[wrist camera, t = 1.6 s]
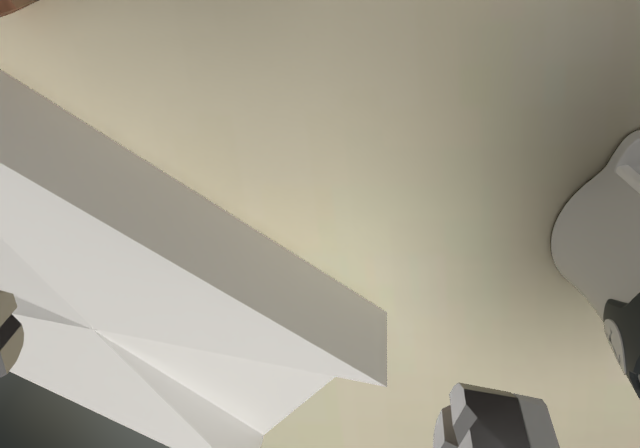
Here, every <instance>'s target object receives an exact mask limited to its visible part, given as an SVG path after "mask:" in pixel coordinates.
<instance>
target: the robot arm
mask: <svg viewBox="0 0 640 448" xmlns="http://www.w3.org/2000/svg"><path fill="white" fill-rule="evenodd" d="M551 252H552V257H553V260H554V263H555V265H556V267H557V269H558V270H559V272H560V273H561V274H562V276H563V277H564V278H565V279H566V280H567V281H568V282H570V283H571V284H572V285H573V286H574V287H575V288H576V289H577V290H579V291H580V293H581V294H582V295H583V296H584V297H585V298H586V299H587V301H588V302H589V303H590V304H591V306H592V307H593V308H594V310H595V311H596V313H597V314H598V315H599V317H600V318H601V320H602V321H603V323H604V331H605V334H606V337H607V340H608V342H609V344H610V346H611V349H612V351H613V353H614V355H615V357H616V359H617V361H618V363H619V365H620V367H621V369H622V371H623V373H624V375H627V377H628V379H629V381H630V383H631V384H632V386H633V388H634V390H635V392H636V393H637V395H638V397H639V398H640V130H638V131H635V132H633V133H631V134H630V135H628V136H627V137H626V138H625V139H624V140H623V141H622V142H621V144H620V145H619V147H618V148H617V149H616V151H615V152H614V154H613V156H612V157H611V159H610V161H609V162H608V164H607V166H606V167H605V168H604V169H603V170H602V171H601V172H600V173H599V174H597V175H596V176H595V177H594V178H593V179H591V180H590V181H589V182H588V183H586V184H585V185H584V186H583V187H582V188H581V189H579V190H578V191H577V192H576V193H575V194H574V195H573V197H572V198H571V199H570V200H569V201H568V203H567V204H566V205H565V206H564V208H563V210H562V211H561V213H560V215H559V216H558V218H557V221H556V223H555V226H554V229H553V232H552V238H551ZM16 308H17V304H16V301H15V298H14V295H13V294H12V293H8V292H5V291H0V377H3V376H4V375H6V374H7V373H8V372H9V371H10V369H11V368H12V367H13V365H14V364H15V363H16V361H17V359H18V357H19V354H20V352H21V349H22V347H23V342H24V331H23V327H22V324H21V323H20V322H19V321H18V320H17V319H16V318H15V317H14V316H13V315H12V313H13V312H14V311H15V309H16ZM449 396H450V404H451V405H449V406H447V407H445V408H443V409H442V410H441V412H440V414H439V416H438V418H437V421H436V426H435V430H434V439H433V448H560V447H559V444H558V440H557V437H556V434H555V431H554V428H553V424H552V421H551V418H550V415H549V412H548V409H547V405H546V404H545V403H544V401H543V400H542V399H539V398H534V397H529V396H524V395H519V394H512V393H511V392H506V391H501V390H496V389H490V388H485V387H480V386H474V385H469V384H464V383H457V384H456V385H455V386H454V387H453V389H452V391H451V392H450V394H449Z"/></svg>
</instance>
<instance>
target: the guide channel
mask: <svg viewBox="0 0 640 448" xmlns="http://www.w3.org/2000/svg"><path fill="white" fill-rule="evenodd" d="M36 1H38V0H0V17H2V16H5V15H8V14H11V13H13V12H16V11H18V10H20V9H22V8H24V7H26V6H28V5H30V4H32V3H34V2H36Z"/></svg>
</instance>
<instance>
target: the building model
mask: <svg viewBox="0 0 640 448" xmlns="http://www.w3.org/2000/svg"><path fill="white" fill-rule="evenodd" d="M0 291H5V292H8V293H12V294H13V295H14V298H15V301H16V304H17V308H16V309H15V311H14V312H13V313H12V315H13V316H14V317H15V318H16V319H17V320H18V321H19V322H20V323H21V324H22V327H23V331H24V342H23V347H22V349H21V352H20V354H19V357H18V359H17V361H16V363H15V364H14V365H13V367H12V368H11V369H10V372H12V373H14V374H16V375H18V376H21V377H23V378H25V379H27V380H29V381H31V382H33V383H35V384H37V385H39V386H42V387H44V388H46V389H48V390H50V391H52V392H54V393H56V394H59V395H61V396H63V397H65V398H67V399H69V400H71V401H74V402H75V403H78V404H80V405H82V406H84V407H86V408H88V409H90V410H92V411H95V412H97V413H99V414H101V415H103V416H105V417H107V418H109V419H111V420H114V421H116V422H118V423H120V424H122V425H124V426H126V427H128V428H131V429H133V430H135V431H137V432H139V433H141V434H143V435H145V436H147V437H150V438H152V439H154V440H156V441H158V442H160V443H162V444H164V445H166V446H169V447H171V448H261V445H262V441H263V436H264V435H265V434H266V433H267V432H268V431H269V430H271V429H272V428H273V427H274V426H276V425H277V424H278V423H279V422H281V421H282V420H283V419H284V418H285V417H287V416H288V415H289V414H290V413H292V412H293V411H294V410H295V409H297V408H298V407H299V406H300V405H301V404H303V403H304V402H305V401H306V400H308V399H309V398H310V397H311V396H313V395H314V394H315V393H316V392H317V391H319V390H320V389H321V388H322V387H324V386H325V385H326V384H327V383H329V382H330V381H331V380H332V379H333V378H335V377H339V378H344V379H349V380H354V381H359V382H365V383H370V384H375V385H380V386H385V387H387V312H386V311H384V310H383V309H381V308H380V307H378V306H376V305H375V304H373V303H372V302H370V301H368V300H367V299H365V298H364V297H362V296H361V295H359V294H357V293H356V292H354V291H353V290H351V289H349V288H348V287H346V286H345V285H343V284H341V283H340V282H338V281H337V280H335V279H333V278H332V277H330V276H329V275H327V274H326V273H324V272H322V271H321V270H319V269H318V268H316V267H314V266H313V265H311V264H310V263H308V262H306V261H305V260H303V259H302V258H300V257H298V256H297V255H295V254H294V253H292V252H290V251H289V250H287V249H286V248H284V247H283V246H281V245H279V244H278V243H276V242H275V241H273V240H271V239H270V238H268V237H267V236H265V235H263V234H262V233H260V232H259V231H257V230H255V229H254V228H252V227H251V226H249V225H248V224H246V223H244V222H243V221H241V220H240V219H238V218H236V217H235V216H233V215H232V214H230V213H228V212H227V211H225V210H224V209H222V208H220V207H219V206H217V205H216V204H214V203H212V202H211V201H209V200H208V199H206V198H205V197H203V196H201V195H200V194H198V193H197V192H195V191H193V190H192V189H190V188H189V187H187V186H185V185H184V184H182V183H181V182H179V181H177V180H176V179H174V178H173V177H171V176H170V175H168V174H166V173H165V172H163V171H162V170H160V169H158V168H157V167H155V166H154V165H152V164H150V163H149V162H147V161H146V160H144V159H142V158H141V157H139V156H138V155H136V154H135V153H133V152H131V151H130V150H128V149H127V148H125V147H123V146H122V145H120V144H119V143H117V142H115V141H114V140H112V139H111V138H109V137H107V136H106V135H104V134H103V133H101V132H99V131H98V130H96V129H95V128H93V127H92V126H90V125H88V124H87V123H85V122H84V121H82V120H80V119H79V118H77V117H76V116H74V115H72V114H71V113H69V112H68V111H66V110H64V109H63V108H61V107H60V106H58V105H57V104H55V103H53V102H52V101H50V100H49V99H47V98H45V97H44V96H42V95H41V94H39V93H37V92H36V91H34V90H33V89H31V88H29V87H28V86H26V85H25V84H23V83H21V82H20V81H18V80H17V79H15V78H14V77H12V76H10V75H9V74H7V73H6V72H4V71H2V70H1V69H0Z"/></svg>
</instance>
